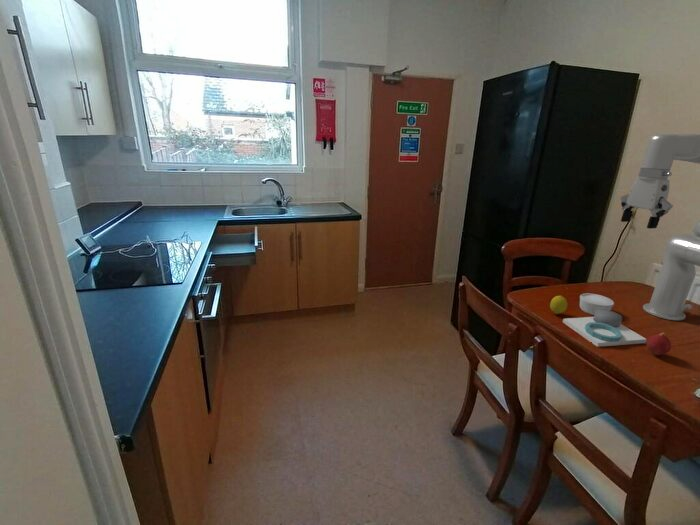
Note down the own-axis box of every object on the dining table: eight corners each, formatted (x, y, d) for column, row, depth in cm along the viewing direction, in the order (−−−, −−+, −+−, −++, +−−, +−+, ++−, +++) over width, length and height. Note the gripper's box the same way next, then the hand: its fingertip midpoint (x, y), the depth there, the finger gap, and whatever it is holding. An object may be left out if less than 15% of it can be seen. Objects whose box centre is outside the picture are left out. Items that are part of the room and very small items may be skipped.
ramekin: (587, 302, 143) (591, 291, 141) (617, 314, 133) (620, 302, 132) (570, 307, 138) (573, 295, 137) (599, 320, 129) (603, 307, 127)
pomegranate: (638, 349, 111) (645, 328, 108) (654, 348, 111) (662, 327, 109) (654, 360, 105) (663, 338, 103) (672, 359, 106) (680, 337, 103)
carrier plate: (605, 319, 129) (609, 308, 128) (645, 343, 114) (649, 331, 113) (562, 322, 127) (565, 311, 125) (597, 346, 112) (600, 334, 111)
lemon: (566, 318, 130) (571, 299, 127) (551, 316, 131) (555, 298, 128) (561, 311, 135) (566, 293, 132) (546, 310, 136) (550, 291, 133)
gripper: (691, 177, 105) (672, 230, 111) (638, 171, 121) (624, 219, 127) (670, 177, 104) (652, 231, 110) (620, 171, 120) (607, 219, 126)
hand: (637, 224), depth 118 cm, fingers open, 9 cm apart
